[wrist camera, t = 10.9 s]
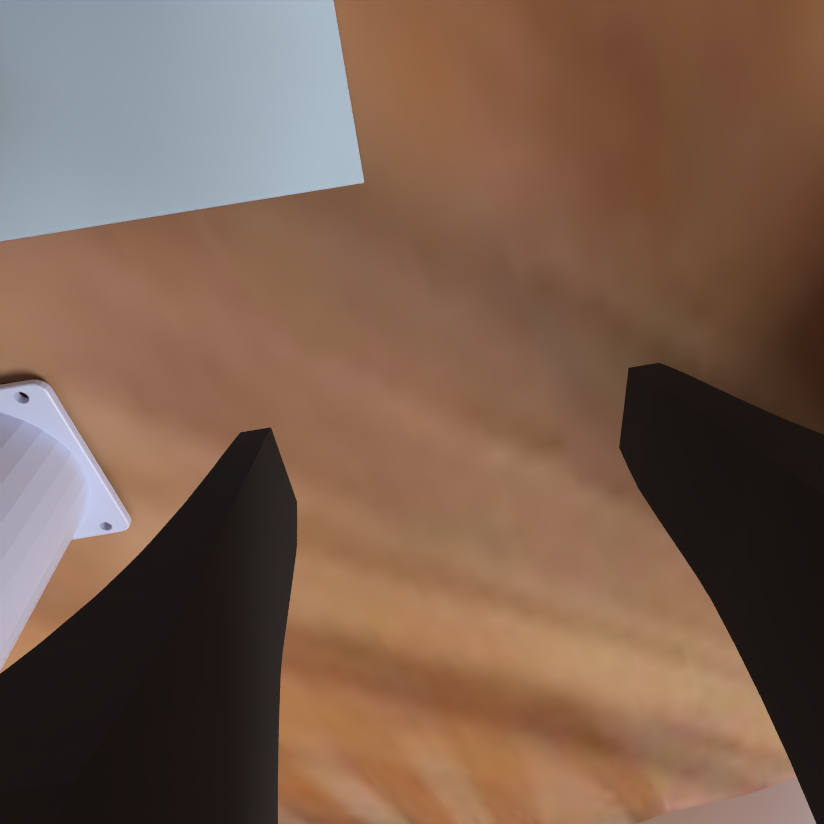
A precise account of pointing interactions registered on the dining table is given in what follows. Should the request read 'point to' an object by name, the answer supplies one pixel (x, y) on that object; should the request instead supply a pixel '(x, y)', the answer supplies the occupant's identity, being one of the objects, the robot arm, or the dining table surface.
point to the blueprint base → (166, 108)
